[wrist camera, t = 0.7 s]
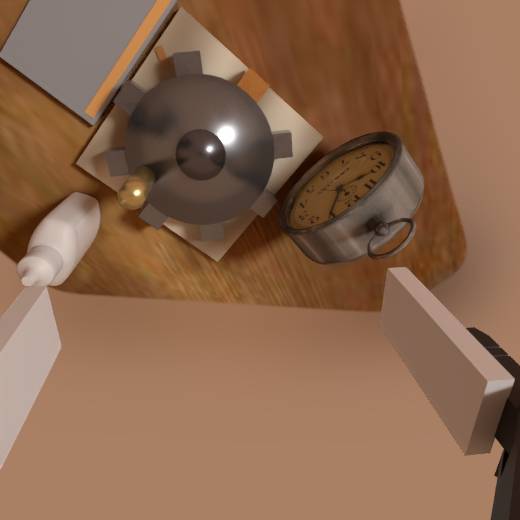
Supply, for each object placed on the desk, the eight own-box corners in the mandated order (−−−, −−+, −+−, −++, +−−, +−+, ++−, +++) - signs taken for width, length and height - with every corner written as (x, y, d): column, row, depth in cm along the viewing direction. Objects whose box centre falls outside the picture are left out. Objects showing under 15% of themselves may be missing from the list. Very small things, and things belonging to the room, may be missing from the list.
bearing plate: (78, 161, 36) (75, 163, 35) (181, 8, 32) (180, 6, 31) (217, 258, 41) (217, 262, 40) (321, 136, 37) (323, 137, 36)
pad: (2, 56, 32) (-2, 55, 32) (100, -119, 29) (98, -123, 28) (95, 124, 35) (93, 125, 34) (196, -27, 31) (195, -29, 31)
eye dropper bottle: (120, 218, 38) (83, 277, 27) (78, 256, 39) (27, 327, 29) (82, 183, 37) (27, 231, 26) (40, 223, 38) (-31, 285, 27)
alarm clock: (361, 118, 37) (460, 151, 22) (393, 165, 39) (502, 223, 24) (266, 198, 39) (298, 276, 24) (301, 238, 41) (350, 333, 26)
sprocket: (74, 164, 35) (39, 188, 28) (180, 6, 31) (171, -13, 24) (217, 263, 40) (218, 304, 33) (324, 137, 36) (351, 154, 29)
